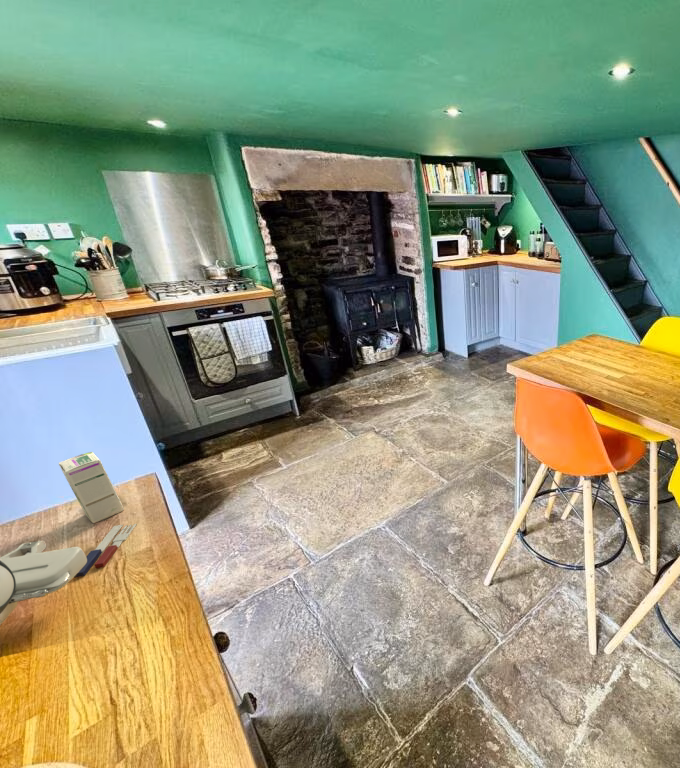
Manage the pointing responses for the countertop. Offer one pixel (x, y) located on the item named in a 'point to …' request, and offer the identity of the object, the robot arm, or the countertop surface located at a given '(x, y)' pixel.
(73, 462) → the syrup box
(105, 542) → the knife
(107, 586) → the countertop surface
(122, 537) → the fork
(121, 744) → the countertop surface
